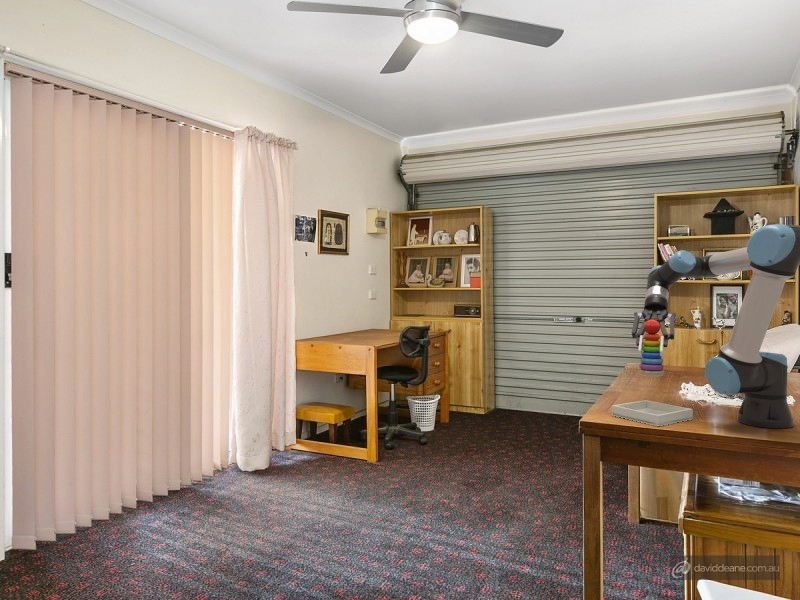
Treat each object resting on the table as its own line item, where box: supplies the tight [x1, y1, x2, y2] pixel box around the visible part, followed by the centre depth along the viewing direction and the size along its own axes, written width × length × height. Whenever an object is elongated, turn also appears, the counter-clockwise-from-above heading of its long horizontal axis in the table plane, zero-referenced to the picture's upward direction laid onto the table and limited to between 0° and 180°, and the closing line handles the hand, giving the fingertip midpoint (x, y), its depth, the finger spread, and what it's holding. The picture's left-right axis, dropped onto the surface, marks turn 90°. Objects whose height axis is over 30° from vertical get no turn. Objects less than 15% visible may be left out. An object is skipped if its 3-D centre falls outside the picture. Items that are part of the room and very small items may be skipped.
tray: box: [611, 399, 694, 427], centre depth 197 cm, size 18×18×4 cm
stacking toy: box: [638, 320, 665, 378], centre depth 196 cm, size 8×8×19 cm
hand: (650, 353), depth 193 cm, fingers closed on stacking toy, 6 cm apart
